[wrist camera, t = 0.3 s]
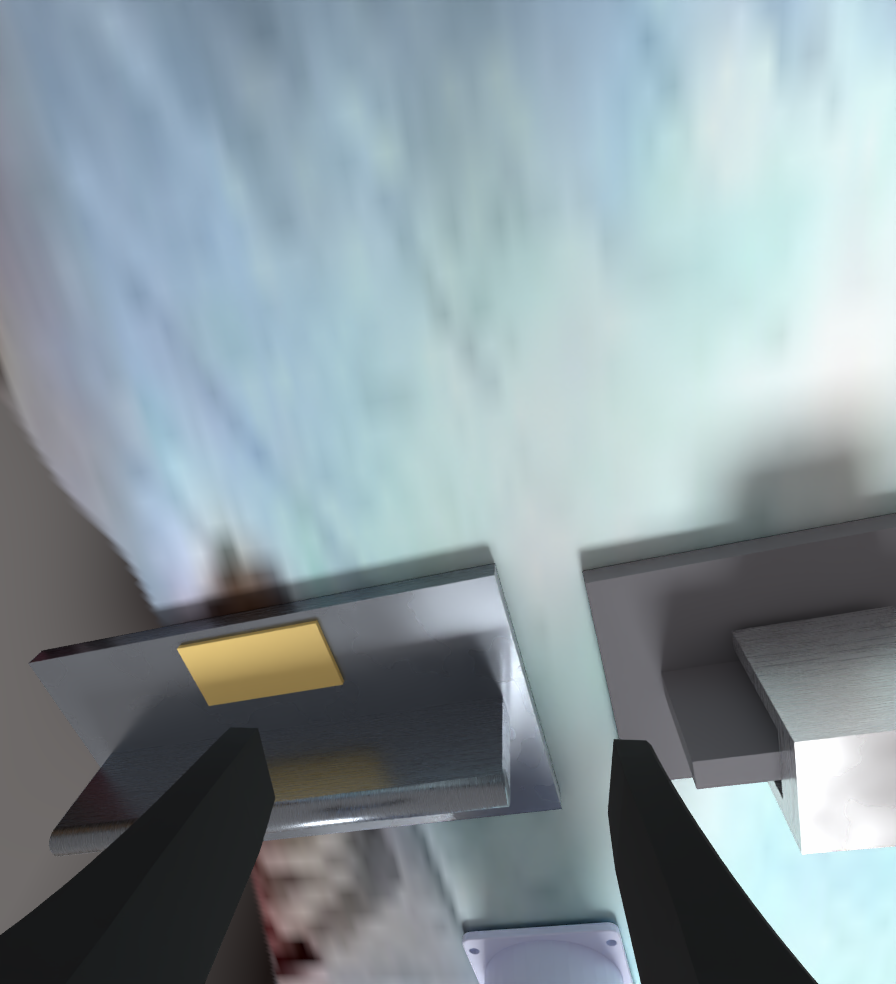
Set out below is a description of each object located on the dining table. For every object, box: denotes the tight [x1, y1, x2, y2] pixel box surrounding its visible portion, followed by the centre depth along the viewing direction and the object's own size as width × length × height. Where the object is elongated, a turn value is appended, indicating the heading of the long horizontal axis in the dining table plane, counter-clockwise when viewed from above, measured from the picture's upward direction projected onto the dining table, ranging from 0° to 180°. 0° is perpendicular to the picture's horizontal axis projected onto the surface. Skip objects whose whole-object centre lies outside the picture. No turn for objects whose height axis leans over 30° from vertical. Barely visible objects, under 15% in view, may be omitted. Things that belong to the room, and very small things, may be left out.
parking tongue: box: [583, 513, 896, 789], centre depth 19 cm, size 10×14×5 cm
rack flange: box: [29, 563, 562, 856], centre depth 23 cm, size 12×20×5 cm, turn 106°
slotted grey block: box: [732, 606, 896, 854], centre depth 18 cm, size 5×5×5 cm
